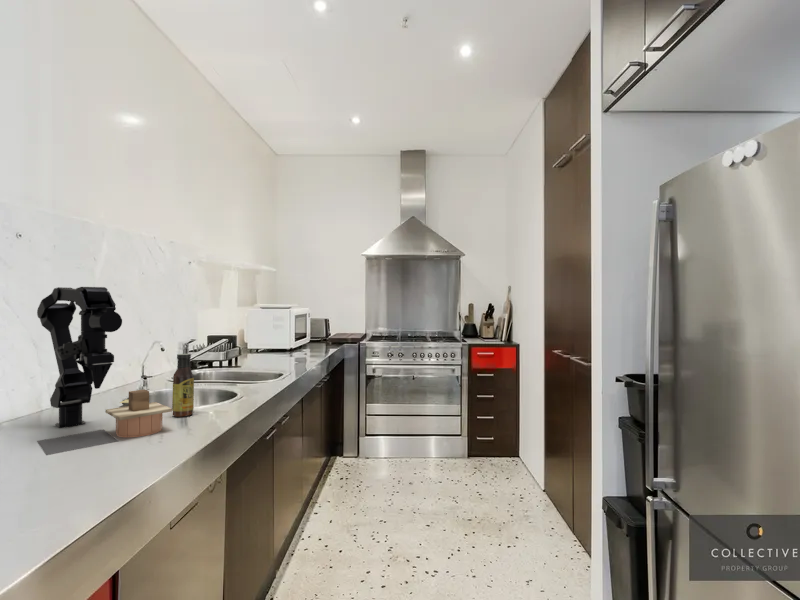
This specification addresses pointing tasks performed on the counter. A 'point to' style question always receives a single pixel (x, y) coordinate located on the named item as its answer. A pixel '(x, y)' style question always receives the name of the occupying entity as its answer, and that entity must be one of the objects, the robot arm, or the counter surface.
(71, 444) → the mat
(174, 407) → the sauce bottle
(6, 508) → the counter surface
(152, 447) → the counter surface
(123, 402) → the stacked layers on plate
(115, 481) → the counter surface
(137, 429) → the bowl
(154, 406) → the lid
